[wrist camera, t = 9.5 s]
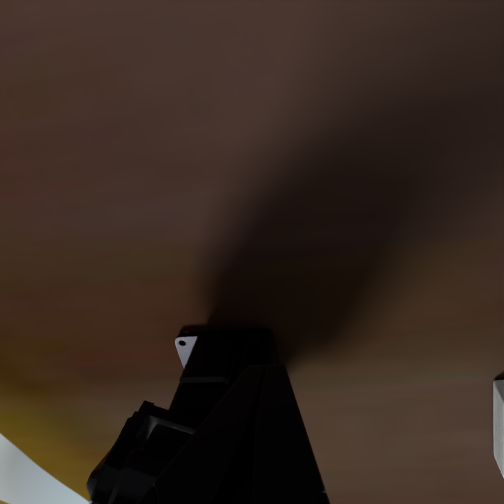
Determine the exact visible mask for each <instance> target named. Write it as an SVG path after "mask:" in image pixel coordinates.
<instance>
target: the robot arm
mask: <svg viewBox="0 0 504 504" xmlns="http://www.w3.org/2000/svg"><path fill="white" fill-rule="evenodd" d="M262 336H266V337H268V338H263V337H262ZM181 340H183V341H185V342H182V341H181ZM175 345H176V347H177V350H178V353H179V356H180V359H181V362H182V364H183V367H184V370H183V372H182V375H181V377H180V383H179V385H178V388H177V390H176V393H175V395H174V398H173V400H172V403H171V405H170V408H169V410H167V409H164V408H161V407H158V406H154V403H151V402H148V401H144V402H143V404H142V405H141V407H140V409H139V411H138V412H137V411H135V412H134V414H133V415H132V417H131V418H128V419H127V421H126V423H125V425H124V427H123V429H122V431H121V433H120V435H119V437H118V439H117V441H116V442H115V444H114V445H113V447H112V448H111V449H110V451H109V452H108V453H107V454H106V456H105V457H104V458H103V459H102V460H101V462H100V463H99V464H98V465H97V467H96V468H95V469H94V470H93V471H92V473H91V475H90V477H89V479H88V482H87V485H86V487H87V490H88V493H89V496H90V503H89V504H330V502H329V499H328V495H327V494H326V490H325V487H324V484H323V481H322V478H321V475H320V472H319V469H318V465H317V462H316V459H315V456H314V453H313V450H312V447H311V444H310V441H309V438H308V435H307V432H306V429H305V426H304V423H303V420H302V416H301V413H300V410H299V407H298V404H297V401H296V398H295V395H294V392H293V389H292V386H291V383H290V380H289V377H288V374H287V371H286V368H285V366H284V365H283V364H279V361H278V356H277V351H276V347H275V342H274V337H273V334H272V332H271V331H270V330H268V329H250V330H232V331H214V332H196V333H181V334H179V335H178V336H177V338H176V340H175Z"/></svg>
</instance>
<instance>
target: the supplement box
mask: <svg viewBox="0 0 504 504" xmlns="http://www.w3.org/2000/svg"><path fill="white" fill-rule="evenodd" d="M493 437H494V443H493V444H494V457H495V459H496V461H497V464H498V466H499V468H500V471H501V473H502V475H503V478H504V380H496V381H494V382H493Z"/></svg>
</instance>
